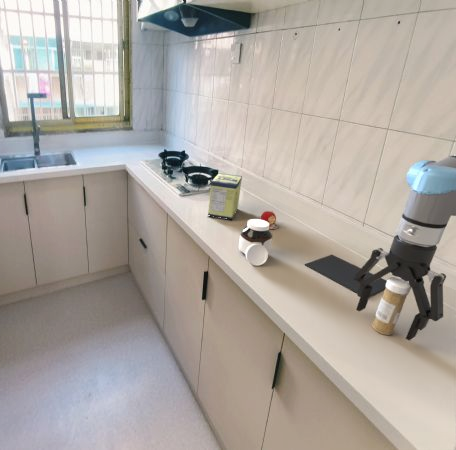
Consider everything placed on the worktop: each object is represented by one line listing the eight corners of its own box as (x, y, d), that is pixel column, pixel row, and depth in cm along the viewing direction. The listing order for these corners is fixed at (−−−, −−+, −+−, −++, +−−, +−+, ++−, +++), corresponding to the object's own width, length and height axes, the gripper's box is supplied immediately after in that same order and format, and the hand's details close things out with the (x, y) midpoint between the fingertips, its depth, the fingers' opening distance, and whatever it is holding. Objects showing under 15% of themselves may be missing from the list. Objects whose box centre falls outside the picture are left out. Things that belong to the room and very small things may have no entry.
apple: (280, 226, 137) (283, 211, 134) (272, 231, 131) (275, 216, 128) (262, 220, 141) (264, 205, 139) (253, 225, 136) (256, 210, 133)
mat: (393, 285, 99) (394, 283, 99) (366, 298, 92) (366, 297, 92) (331, 255, 115) (332, 254, 115) (304, 265, 108) (304, 263, 108)
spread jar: (257, 247, 119) (262, 216, 114) (280, 262, 109) (287, 229, 105) (229, 253, 114) (233, 221, 109) (251, 269, 105) (257, 235, 100)
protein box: (237, 209, 153) (242, 175, 147) (231, 221, 140) (236, 185, 133) (215, 205, 156) (218, 172, 150) (207, 216, 143) (210, 181, 137)
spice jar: (397, 335, 79) (417, 287, 74) (378, 335, 79) (397, 287, 74) (384, 322, 83) (402, 276, 78) (366, 322, 83) (383, 276, 78)
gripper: (353, 223, 79) (330, 300, 88) (476, 269, 61) (432, 361, 70) (371, 217, 82) (347, 292, 91) (493, 260, 64) (448, 348, 73)
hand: (384, 322), depth 80 cm, fingers open, 11 cm apart
